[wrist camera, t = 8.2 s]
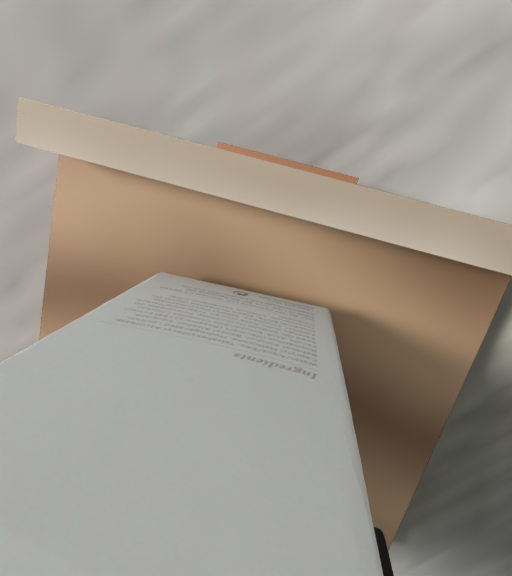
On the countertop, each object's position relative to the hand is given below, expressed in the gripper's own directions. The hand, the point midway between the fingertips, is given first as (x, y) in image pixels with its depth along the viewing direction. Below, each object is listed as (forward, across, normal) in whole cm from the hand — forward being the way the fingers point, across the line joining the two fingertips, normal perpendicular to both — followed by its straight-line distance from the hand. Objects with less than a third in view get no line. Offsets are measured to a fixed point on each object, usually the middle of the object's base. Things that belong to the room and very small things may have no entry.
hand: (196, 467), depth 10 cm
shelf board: (+5, 0, -1) cm, 5 cm away
